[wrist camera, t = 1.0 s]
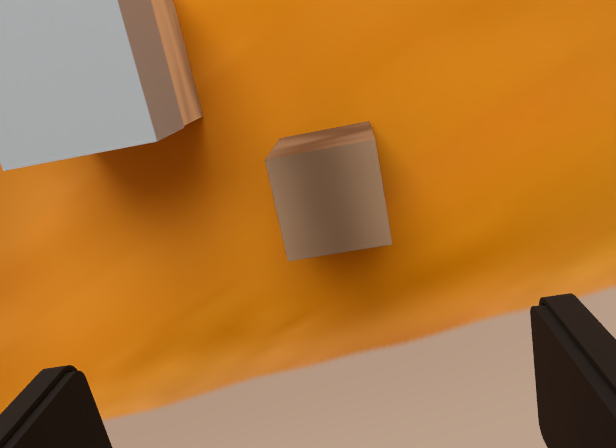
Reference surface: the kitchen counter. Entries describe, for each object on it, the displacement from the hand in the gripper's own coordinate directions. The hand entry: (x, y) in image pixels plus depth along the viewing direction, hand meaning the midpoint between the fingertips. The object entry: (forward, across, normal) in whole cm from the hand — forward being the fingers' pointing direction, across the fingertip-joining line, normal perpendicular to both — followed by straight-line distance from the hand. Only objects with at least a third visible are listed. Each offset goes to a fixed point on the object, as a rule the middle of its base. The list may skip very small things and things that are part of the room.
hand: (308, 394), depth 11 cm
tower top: (+16, +10, -8) cm, 21 cm away
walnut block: (+20, 0, 0) cm, 20 cm away
